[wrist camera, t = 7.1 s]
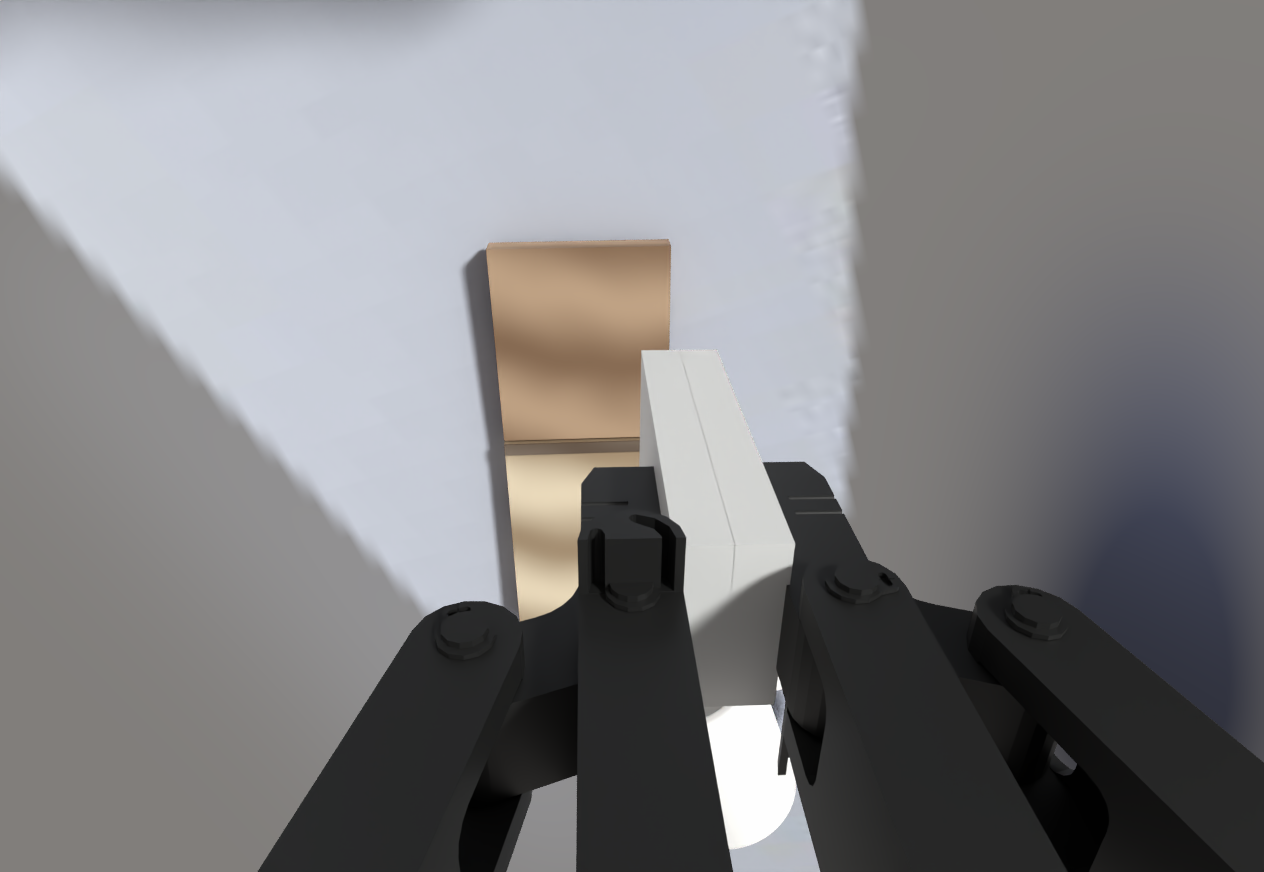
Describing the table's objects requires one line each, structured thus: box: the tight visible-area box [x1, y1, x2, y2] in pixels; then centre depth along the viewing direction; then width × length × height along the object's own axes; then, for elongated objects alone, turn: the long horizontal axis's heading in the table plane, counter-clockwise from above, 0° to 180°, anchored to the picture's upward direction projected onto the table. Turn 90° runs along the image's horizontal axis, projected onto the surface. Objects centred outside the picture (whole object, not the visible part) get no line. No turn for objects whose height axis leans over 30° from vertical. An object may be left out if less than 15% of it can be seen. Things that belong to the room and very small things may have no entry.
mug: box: [704, 677, 796, 849], centre depth 47 cm, size 12×10×8 cm
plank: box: [486, 239, 671, 441], centre depth 39 cm, size 10×8×1 cm
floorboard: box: [504, 437, 640, 621], centre depth 44 cm, size 12×8×2 cm
